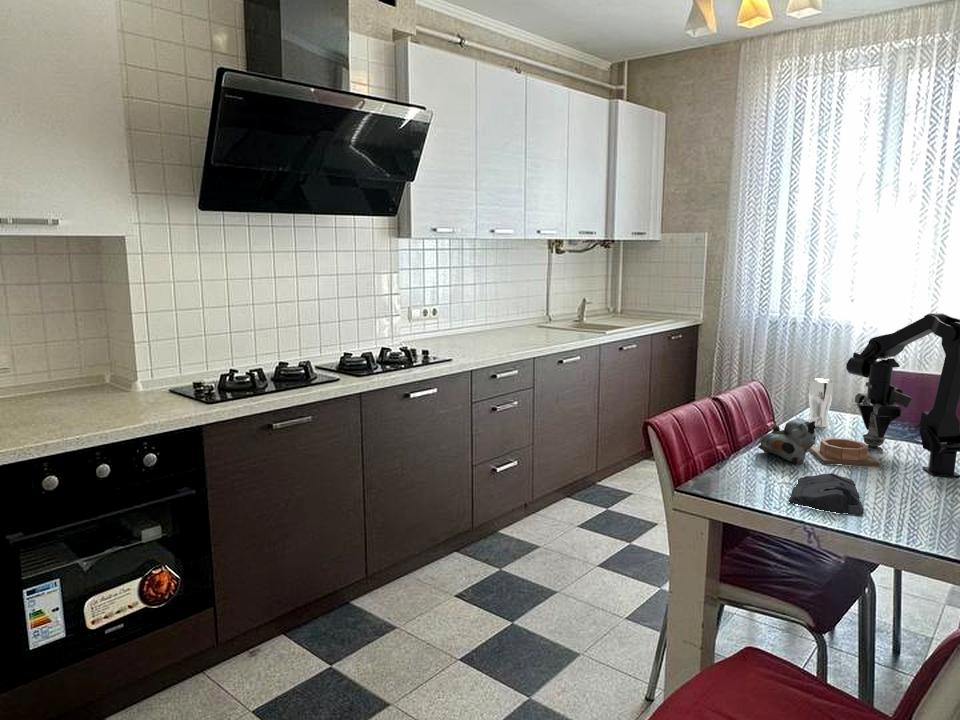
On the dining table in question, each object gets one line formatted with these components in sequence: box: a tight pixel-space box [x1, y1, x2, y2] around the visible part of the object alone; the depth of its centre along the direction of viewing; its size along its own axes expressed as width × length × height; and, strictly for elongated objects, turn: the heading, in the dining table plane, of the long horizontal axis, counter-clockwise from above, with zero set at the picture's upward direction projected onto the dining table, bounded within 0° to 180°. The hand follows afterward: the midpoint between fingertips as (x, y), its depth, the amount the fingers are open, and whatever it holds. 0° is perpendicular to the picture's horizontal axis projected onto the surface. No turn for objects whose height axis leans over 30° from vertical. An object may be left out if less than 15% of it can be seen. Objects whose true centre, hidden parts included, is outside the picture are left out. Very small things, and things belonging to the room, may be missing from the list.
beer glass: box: [808, 378, 834, 428], centre depth 229 cm, size 7×7×15 cm
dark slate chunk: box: [788, 472, 865, 516], centre depth 163 cm, size 15×22×5 cm
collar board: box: [808, 437, 881, 468], centre depth 194 cm, size 14×14×4 cm
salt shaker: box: [862, 412, 887, 452], centre depth 203 cm, size 6×6×12 cm
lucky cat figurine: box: [757, 418, 818, 465], centre depth 192 cm, size 15×12×14 cm
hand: (874, 433), depth 203 cm, fingers open, 9 cm apart
